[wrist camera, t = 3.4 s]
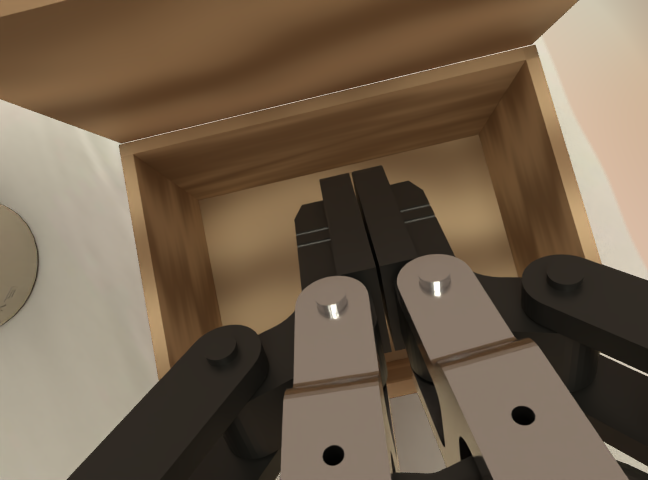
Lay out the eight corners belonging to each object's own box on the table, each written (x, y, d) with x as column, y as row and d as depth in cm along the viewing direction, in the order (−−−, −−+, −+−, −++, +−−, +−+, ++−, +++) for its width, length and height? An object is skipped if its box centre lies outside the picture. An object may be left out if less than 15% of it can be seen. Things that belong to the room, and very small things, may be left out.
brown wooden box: (542, 337, 34) (626, 346, 23) (230, 405, 35) (169, 446, 24) (483, 126, 36) (535, 44, 25) (191, 195, 37) (118, 144, 26)
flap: (766, -177, 11) (759, -206, 11) (-133, 50, 12) (-140, 23, 12) (531, 44, 25) (529, 31, 25) (121, 143, 26) (118, 130, 26)
